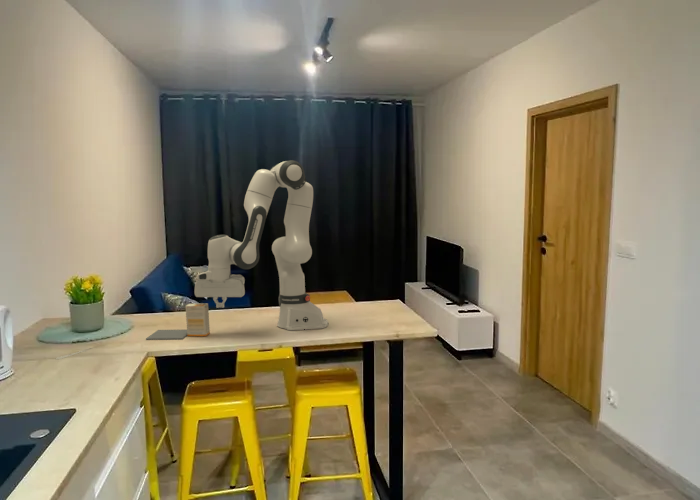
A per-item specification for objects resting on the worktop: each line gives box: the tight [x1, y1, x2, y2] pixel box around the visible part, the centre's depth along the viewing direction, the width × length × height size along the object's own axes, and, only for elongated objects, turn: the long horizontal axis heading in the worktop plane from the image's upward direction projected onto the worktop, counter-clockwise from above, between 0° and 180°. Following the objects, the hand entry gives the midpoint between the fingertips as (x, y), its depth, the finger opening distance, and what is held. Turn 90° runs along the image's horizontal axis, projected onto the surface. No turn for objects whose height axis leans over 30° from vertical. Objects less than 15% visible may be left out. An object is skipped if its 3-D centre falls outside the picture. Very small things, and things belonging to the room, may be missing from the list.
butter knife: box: [55, 349, 86, 360], centre depth 197 cm, size 1×24×3 cm
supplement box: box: [185, 302, 211, 337], centre depth 215 cm, size 8×5×13 cm, turn 84°
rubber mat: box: [145, 329, 188, 341], centre depth 216 cm, size 15×13×1 cm
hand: (220, 307), depth 214 cm, fingers closed
